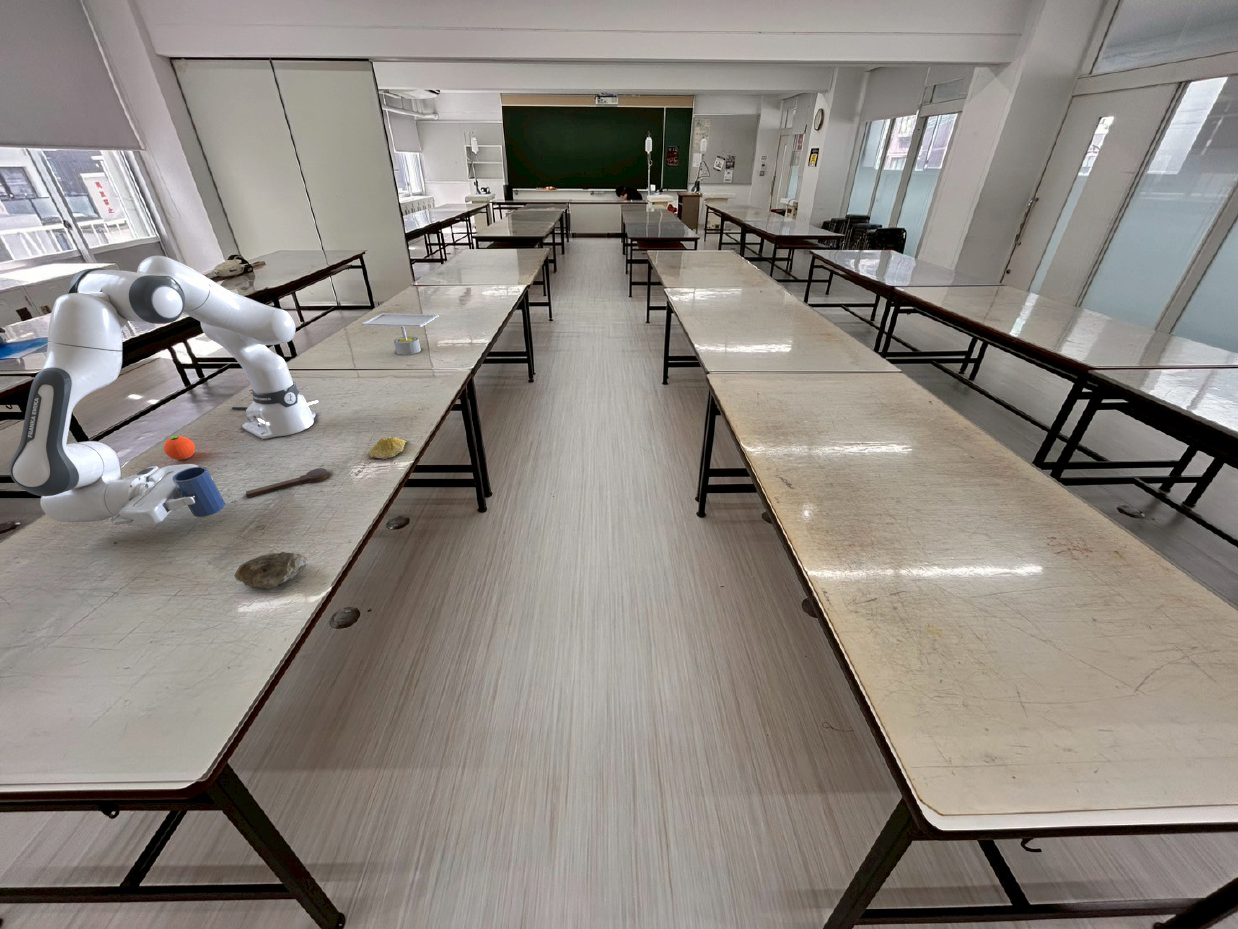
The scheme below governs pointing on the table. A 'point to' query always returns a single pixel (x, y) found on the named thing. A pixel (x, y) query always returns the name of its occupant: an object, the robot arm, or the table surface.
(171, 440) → the clementine
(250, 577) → the stone
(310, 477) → the spoon
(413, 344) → the solar panel model
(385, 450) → the fossil
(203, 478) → the cup
